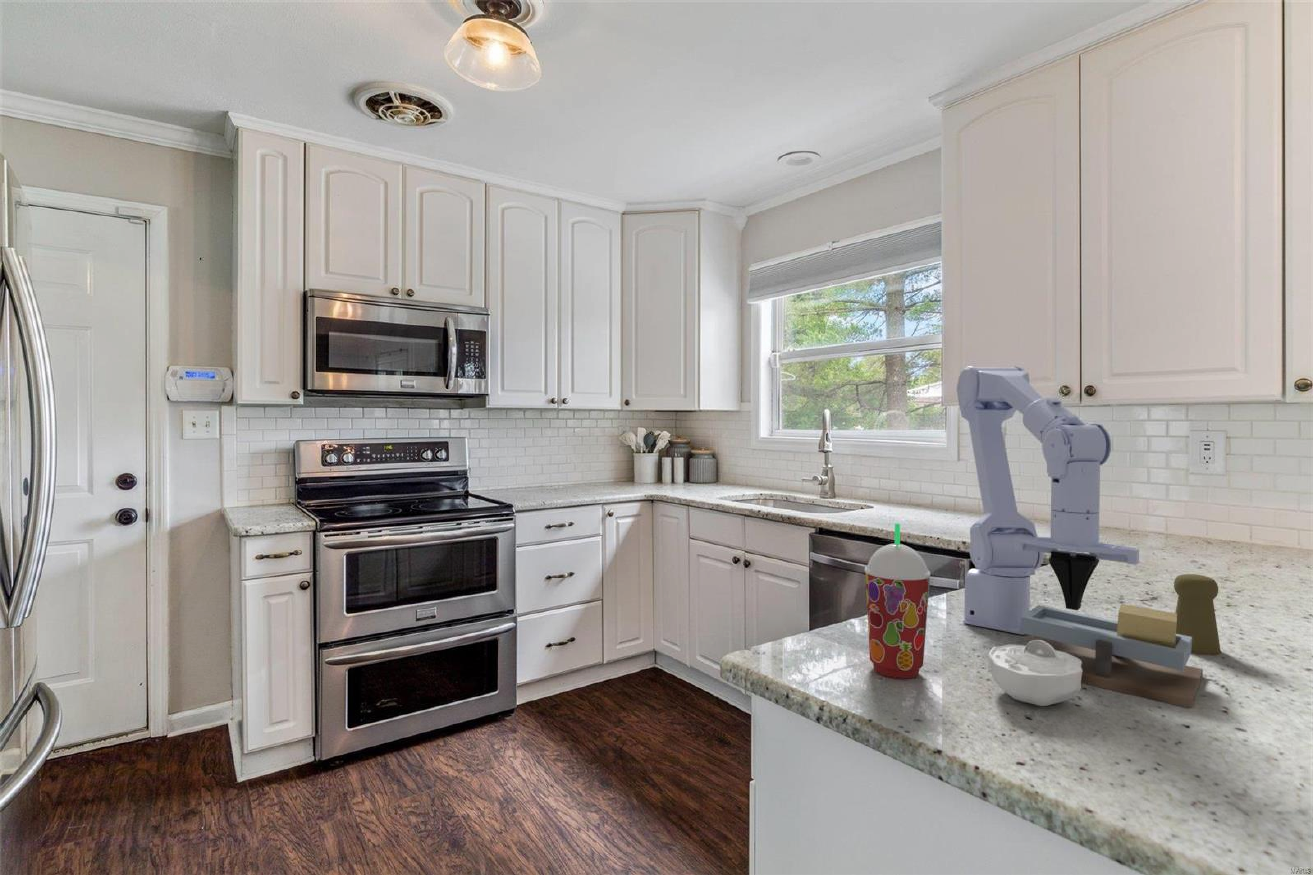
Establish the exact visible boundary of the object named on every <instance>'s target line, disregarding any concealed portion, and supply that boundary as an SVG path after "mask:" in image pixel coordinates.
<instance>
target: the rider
mask: <svg viewBox="0 0 1313 875" xmlns="http://www.w3.org/2000/svg"><path fill="white" fill-rule="evenodd" d="M1117 622H1118V627H1117V636H1120V637H1124V638H1129V639H1133V640H1138V641H1143V642H1147V643H1152V644H1156V645H1161V646H1165V647H1170V648H1174V649H1175V639H1176V625H1177V613H1175V612H1171V611H1166V610H1159V609H1155V608H1154V609H1153V608H1150V607H1149V608H1147V607H1142V606H1136V605H1129V604H1124V603H1120V606H1119V609H1118V614H1117Z"/></svg>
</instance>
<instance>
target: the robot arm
mask: <svg viewBox="0 0 1313 875" xmlns="http://www.w3.org/2000/svg"><path fill="white" fill-rule="evenodd" d="M957 381H958V382H957V385H956V394H957V401H958V407H959V410H960V416H961V418H963V419H965V420H966V421H968V426H969V427H968V428H969V433H970V440H971V445H972V450H973V456H974V464H975V468H976V474H977V480H978V485H979V486H978V488H979V492H980V498H981V504H982V508H983V509H982V510H983V515H982V516H981V517H980V518H979V519H978V520H976V521H975V522H974V523H973V524H972V525H971V526H970V528H969V536H970V537H969V538H970V540H969V556H970V560H971V561H972V563H973V565H974V566H975V567H976V568H970V569H969V570H968V572H967V574H966V577H965V581H964V611H963V612H964V615H963V616H964V619H963V620H962V623H963V624H966V625H972V626H977V627H982V628H987V629H991V630H998V631H1002V632H1006V633H1013V634H1017V635H1021V636H1023V635H1026V634H1025V633H1021V632H1020V628H1021V617H1022V616H1023V615H1025V614H1026V613H1028V612H1029V611H1031V576H1035V575H1036V571H1037V570H1038V569H1039V568H1040V567H1041V565H1042V564H1043V560H1044V557H1045V554H1050V556H1049V558H1048V561H1049V565H1050V567H1051V569H1052V571H1053V572H1054V574H1055V576H1056V579H1057V581H1058V583H1059V585H1060V589H1061V592H1062V595H1063V598H1064V599H1063V600H1064V604H1065V610H1066V609H1067V610H1071V611H1072V610H1073V611H1078V610H1080V609H1081V607H1082V601H1083V598H1084V593H1085V590H1086V588H1087V585H1088V583H1089V580H1090V579H1091V577H1092V574H1093V573H1094V571H1095V569H1096V568H1097V566H1098V564H1099V563H1100V561H1101V560H1103V561H1111V562H1117V563H1118V562H1119V563H1126V564H1128V565H1129V564H1130V565H1138V564H1139V563H1140V548H1138V547H1130V546H1122V545H1116V544H1110V543H1103V542H1100V507H1101V506H1100V501H1101V500H1100V499H1101V498H1100V497H1101V494H1100V493H1101V492H1100V490H1101V466H1102V465H1104V464H1105V463H1107V461H1108V459H1109V458H1110V455H1111V452H1112V439H1111V436H1110V434H1109V432H1108V431H1107V430H1106V428H1105V427H1104V426H1103V424H1100V423H1086V422H1085V423H1084V422H1083V421H1082V420H1081V419H1080V418H1079V417H1078V416H1077V415H1076V414H1073V413H1072V412H1071V411H1070V410H1068V409H1067V408H1066V407H1065V406H1064V405H1063V404H1062V400H1060V399H1059V398H1057V397H1045V398H1044V397H1042V396H1041V395H1040V394H1039V393H1038V392H1037V391H1036V389H1034V388H1033V386H1032V385H1031V384H1030V374H1029V372H1028V371H1027V370H1025V369H1024V368H1023V367H1022V366H1019V365H1018V366H1016V365H1015V366H1013V367H1011V366H1009V367H1007V366H1006V367H1005V366H1003V367H1001V366H1000V367H999V366H997V367H996V366H987V367H986V366H974V365H973V366H970V365H968V366H965V367H964V368H963V370H962V371H961V372H960V374H959V377H958V380H957ZM1016 412H1019V413H1021V414H1022V423H1023V426H1024V427H1025V429H1027V431H1029V433H1031V435H1033V437H1035V438H1036V440H1038V441H1039V442H1040V443H1041V448H1042V454H1043V457H1044V460H1045V462H1046V474H1047V475H1048V477H1050V478H1051V480H1050V481H1051V482H1050V484H1051V486H1050V488H1051V489H1050V490H1051V491H1050V492H1051V493H1050V537H1041V536H1039V535H1038V534H1037V530H1036V529H1037V528H1036V526H1035V523H1034V522H1032V521H1031V520H1029V519H1028V518H1026V517H1025V516H1024V515H1022V514H1021V513H1019V511H1018V506H1017V501H1016V497H1015V492H1014V486H1013V482H1012V475H1011V470H1010V463H1009V460H1008V454H1007V448H1006V443H1005V439H1004V438H1005V437H1004V432H1003V427H1002V425H1003V423H1004V422H1005V421H1007V420H1009V419H1011V418H1013V417H1014V415H1015V414H1016Z"/></svg>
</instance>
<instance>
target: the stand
mask: <svg viewBox="0 0 1313 875" xmlns="http://www.w3.org/2000/svg"><path fill="white" fill-rule="evenodd" d="M1033 640H1042V641H1045V642H1047V643H1048V644H1050V645H1051V646H1052V647H1053V648H1054V650H1057V651H1062V652H1065V653H1068V654H1070V655H1072V656H1075V657H1077V658H1078V659H1080V660H1081V661H1082V664H1081V668H1082V670H1083V671H1082V677H1081V684H1085V685H1090V686H1094V687H1098V688H1103V689H1107V690H1111V691H1116V692H1120V693H1124V694H1129V695H1132V696H1137V697H1142V698H1146V699H1150V700H1154V701H1159V702H1162V703H1166V704H1170V705H1171V704H1172V705H1176V706H1180V707H1185V708H1188V709H1192V707H1193V704H1194V700H1195V698H1196V695H1197V693H1198V690H1199V687H1200V686H1201V685H1200V684H1201V682H1202V680H1203V676H1204V674H1203V673H1204V669H1203V668H1200V667H1196V666H1190V665H1185V668H1184V670H1183V671H1180V670H1176V669H1172V668H1168V667H1164V666H1159V665H1155V664H1151V663H1147V662H1143V661H1138V660H1134V659H1130V658H1126V657H1121V656H1117V655H1113V654H1112V642H1107V641H1102V640H1096V649H1095V650H1092V649H1088V648H1084V647H1079V646H1075V645H1071V644H1067V643H1063V642H1058V641H1054V640H1050V639H1046V638H1042V637H1037V636H1033V637H1031V638H1030V639H1029V640H1028V641H1027V642H1025V643H1024V644H1023V645H1024V646H1026V645H1027V644H1028V643H1029V642H1030V641H1033Z"/></svg>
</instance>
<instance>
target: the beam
mask: <svg viewBox="0 0 1313 875" xmlns="http://www.w3.org/2000/svg"><path fill="white" fill-rule="evenodd" d="M1117 627H1118V620H1113V619H1108V618H1102V617H1096V616H1094V615H1090V614H1089V615H1088V614H1083V613H1080V612H1079V613H1078V612H1074V611H1070V610H1069V611H1068V610H1066V609H1065V610H1063V609H1060V608H1054V607H1049V606H1044V605H1041V604H1039V605H1037V606H1035V607H1034V608H1032V609H1030V611H1029V612H1028V613H1026V614H1025V615H1023V616H1022V617H1021V628H1020V632H1021V633H1025V635H1029V636H1033V637H1034V636H1037V637H1042V638H1046V639H1050V640H1054V641H1058V642H1063V643H1067V644H1071V645H1075V646H1079V647H1084V648H1088V649H1092V650H1095V649H1096V640H1102V641H1107V642H1112V654H1113V655H1117V656H1121V657H1126V658H1130V659H1134V660H1138V661H1143V662H1147V663H1151V664H1155V665H1159V666H1164V667H1168V668H1172V669H1176V670H1180V671H1183V670H1184V668H1185V666H1187V663H1188V661H1189V659H1190V657H1191V655H1192V653H1191V647H1192V637H1190V636H1185V635H1180V634H1176V639H1175V649H1174V648H1170V647H1165V646H1161V645H1156V644H1152V643H1147V642H1143V641H1138V640H1133V639H1129V638H1124V637H1120V636H1117Z"/></svg>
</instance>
